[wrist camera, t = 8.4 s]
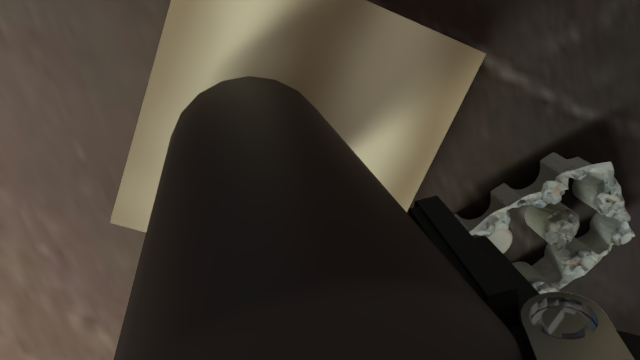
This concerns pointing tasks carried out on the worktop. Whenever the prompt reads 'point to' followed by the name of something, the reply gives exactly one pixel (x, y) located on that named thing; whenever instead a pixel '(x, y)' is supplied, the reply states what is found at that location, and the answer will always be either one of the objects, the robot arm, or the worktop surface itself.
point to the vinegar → (290, 249)
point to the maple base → (306, 83)
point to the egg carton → (559, 219)
